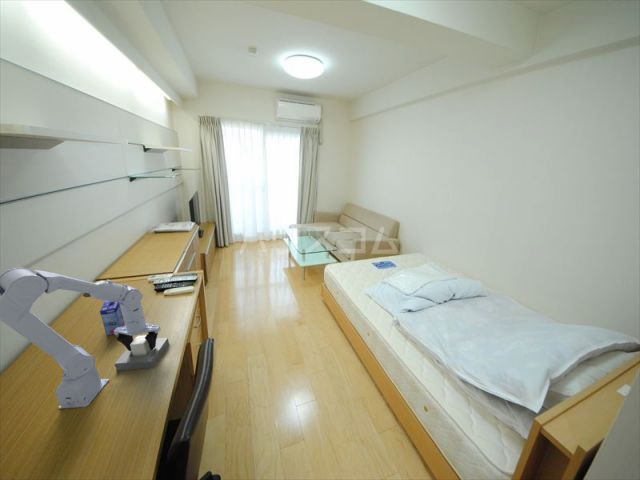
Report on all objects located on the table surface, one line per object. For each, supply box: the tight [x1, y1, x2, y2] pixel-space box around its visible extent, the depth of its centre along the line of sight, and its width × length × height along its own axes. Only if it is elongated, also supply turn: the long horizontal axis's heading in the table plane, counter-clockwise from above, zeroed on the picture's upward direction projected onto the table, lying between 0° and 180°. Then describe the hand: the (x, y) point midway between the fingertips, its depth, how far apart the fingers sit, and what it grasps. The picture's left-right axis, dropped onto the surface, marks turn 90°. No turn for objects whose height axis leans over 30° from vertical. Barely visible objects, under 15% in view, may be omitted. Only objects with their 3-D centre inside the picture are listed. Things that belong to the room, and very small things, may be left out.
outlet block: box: [114, 337, 170, 371], centre depth 91 cm, size 12×12×3 cm
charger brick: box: [130, 334, 151, 356], centre depth 91 cm, size 5×4×7 cm
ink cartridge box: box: [99, 301, 125, 336], centre depth 104 cm, size 10×6×14 cm, turn 29°
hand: (142, 348), depth 91 cm, fingers open, 7 cm apart
